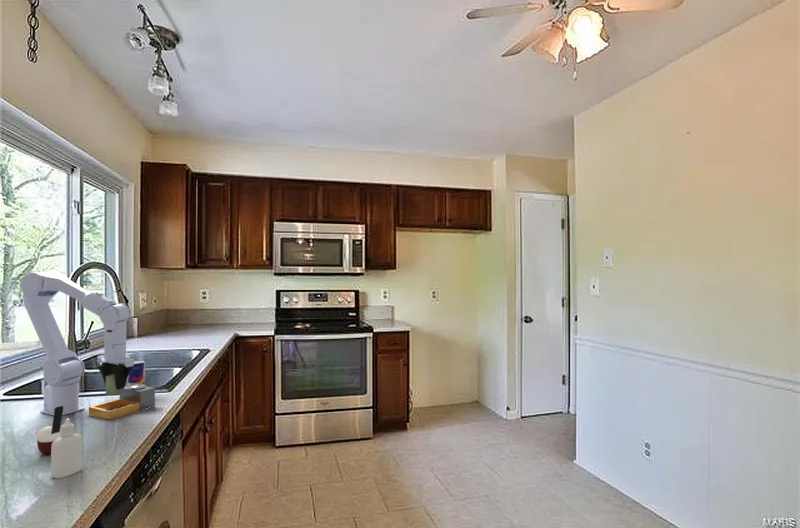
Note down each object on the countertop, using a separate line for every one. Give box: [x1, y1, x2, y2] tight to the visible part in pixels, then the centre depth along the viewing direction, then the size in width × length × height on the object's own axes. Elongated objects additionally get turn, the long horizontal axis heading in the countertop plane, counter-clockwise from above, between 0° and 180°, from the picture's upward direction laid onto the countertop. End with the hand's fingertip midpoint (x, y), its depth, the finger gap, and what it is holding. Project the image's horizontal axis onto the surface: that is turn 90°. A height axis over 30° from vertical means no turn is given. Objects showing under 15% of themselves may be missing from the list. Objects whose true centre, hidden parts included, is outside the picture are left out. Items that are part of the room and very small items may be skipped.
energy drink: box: [126, 360, 146, 386], centre depth 157 cm, size 5×5×12 cm
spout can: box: [105, 374, 129, 396], centre depth 140 cm, size 5×7×6 cm
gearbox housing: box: [88, 384, 156, 421], centre depth 142 cm, size 10×15×7 cm
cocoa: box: [36, 406, 63, 456], centre depth 110 cm, size 10×6×12 cm, turn 28°
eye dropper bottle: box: [50, 418, 84, 480], centre depth 100 cm, size 4×6×12 cm
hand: (114, 387), depth 140 cm, fingers closed on spout can, 5 cm apart
